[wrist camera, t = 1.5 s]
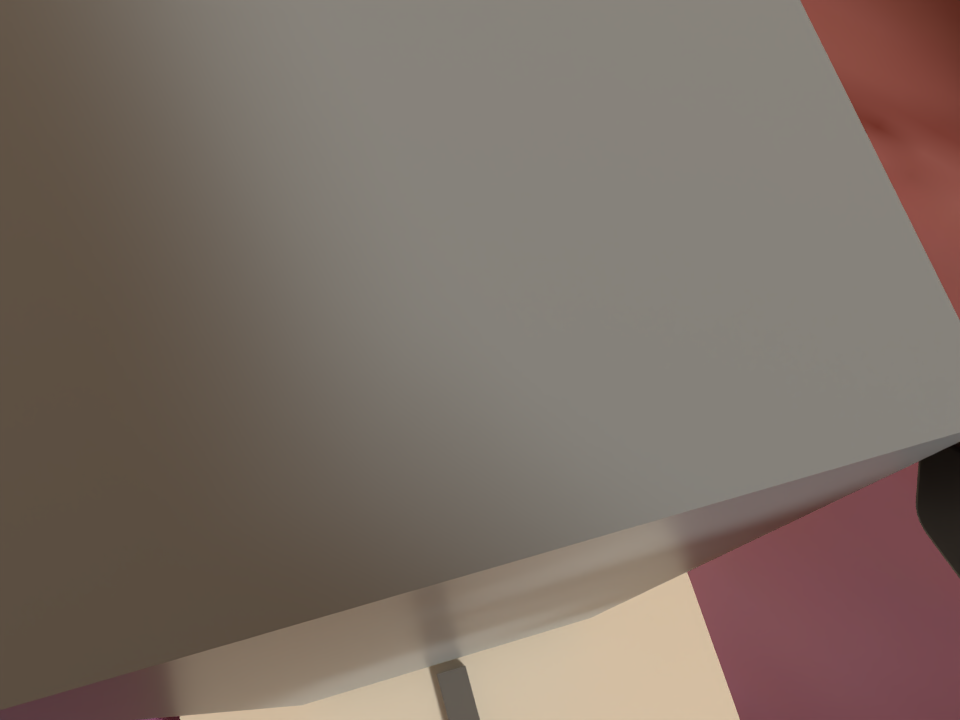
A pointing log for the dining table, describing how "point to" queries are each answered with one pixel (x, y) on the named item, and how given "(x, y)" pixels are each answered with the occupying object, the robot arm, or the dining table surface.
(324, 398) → the stub
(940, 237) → the dining table surface
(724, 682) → the pad
